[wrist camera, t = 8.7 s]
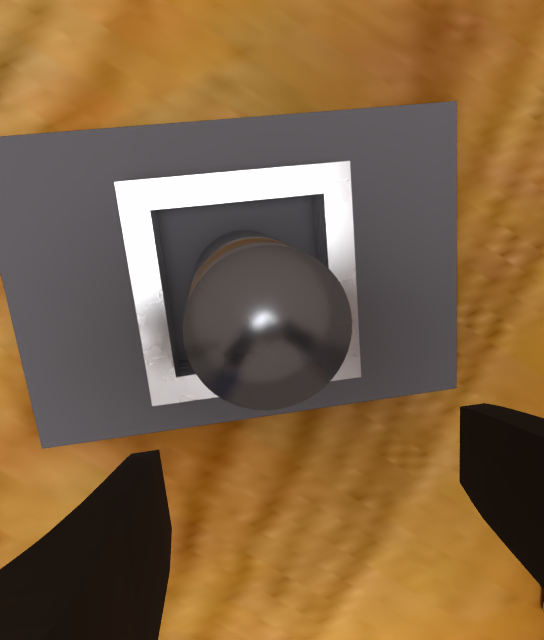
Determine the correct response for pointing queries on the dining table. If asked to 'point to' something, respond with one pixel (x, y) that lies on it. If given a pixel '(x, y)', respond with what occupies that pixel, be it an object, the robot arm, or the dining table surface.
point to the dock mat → (203, 228)
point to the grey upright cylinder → (264, 322)
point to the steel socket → (220, 188)
